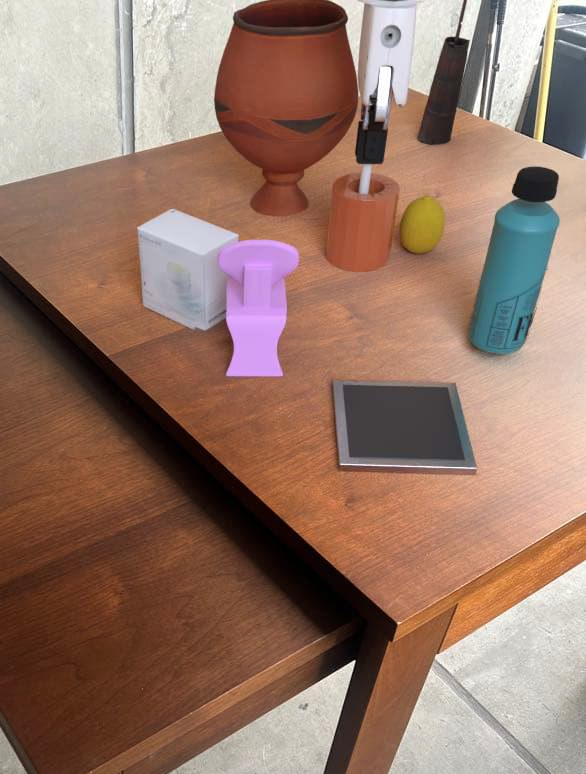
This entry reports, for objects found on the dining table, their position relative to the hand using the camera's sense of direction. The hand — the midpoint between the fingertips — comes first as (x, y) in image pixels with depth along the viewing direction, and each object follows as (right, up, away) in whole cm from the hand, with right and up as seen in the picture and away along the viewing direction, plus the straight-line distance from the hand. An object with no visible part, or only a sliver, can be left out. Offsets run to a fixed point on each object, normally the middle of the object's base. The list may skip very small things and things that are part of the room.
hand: (368, 158), depth 103 cm
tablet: (0, -34, -15) cm, 38 cm away
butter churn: (+19, +19, +37) cm, 46 cm away
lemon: (+9, -8, +10) cm, 16 cm away
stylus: (0, -7, +7) cm, 10 cm away
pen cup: (0, -9, +9) cm, 13 cm away
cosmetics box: (-21, -18, +2) cm, 28 cm away
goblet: (-8, +2, +21) cm, 23 cm away
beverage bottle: (+13, -24, -6) cm, 28 cm away
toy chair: (-14, -25, -5) cm, 29 cm away
